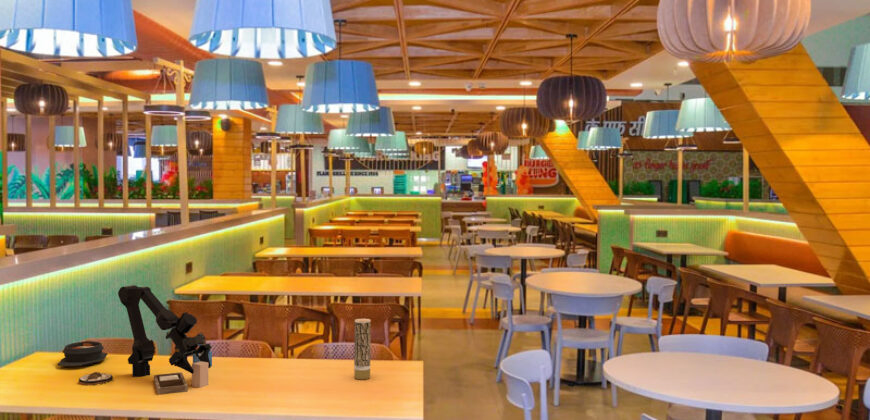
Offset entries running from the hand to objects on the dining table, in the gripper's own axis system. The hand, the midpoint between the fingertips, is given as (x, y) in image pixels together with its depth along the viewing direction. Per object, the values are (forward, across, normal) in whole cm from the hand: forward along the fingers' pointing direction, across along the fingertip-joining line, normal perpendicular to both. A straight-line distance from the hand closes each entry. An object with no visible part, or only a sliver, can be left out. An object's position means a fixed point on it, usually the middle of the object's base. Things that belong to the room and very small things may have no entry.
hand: (201, 370), depth 286 cm
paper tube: (+40, +43, -30) cm, 66 cm away
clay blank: (+4, 0, +6) cm, 7 cm away
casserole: (-48, +4, +58) cm, 76 cm away
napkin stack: (-6, -3, +15) cm, 16 cm away
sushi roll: (-26, -13, +37) cm, 47 cm away
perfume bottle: (-11, +24, +21) cm, 34 cm away
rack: (-3, -6, +13) cm, 14 cm away
